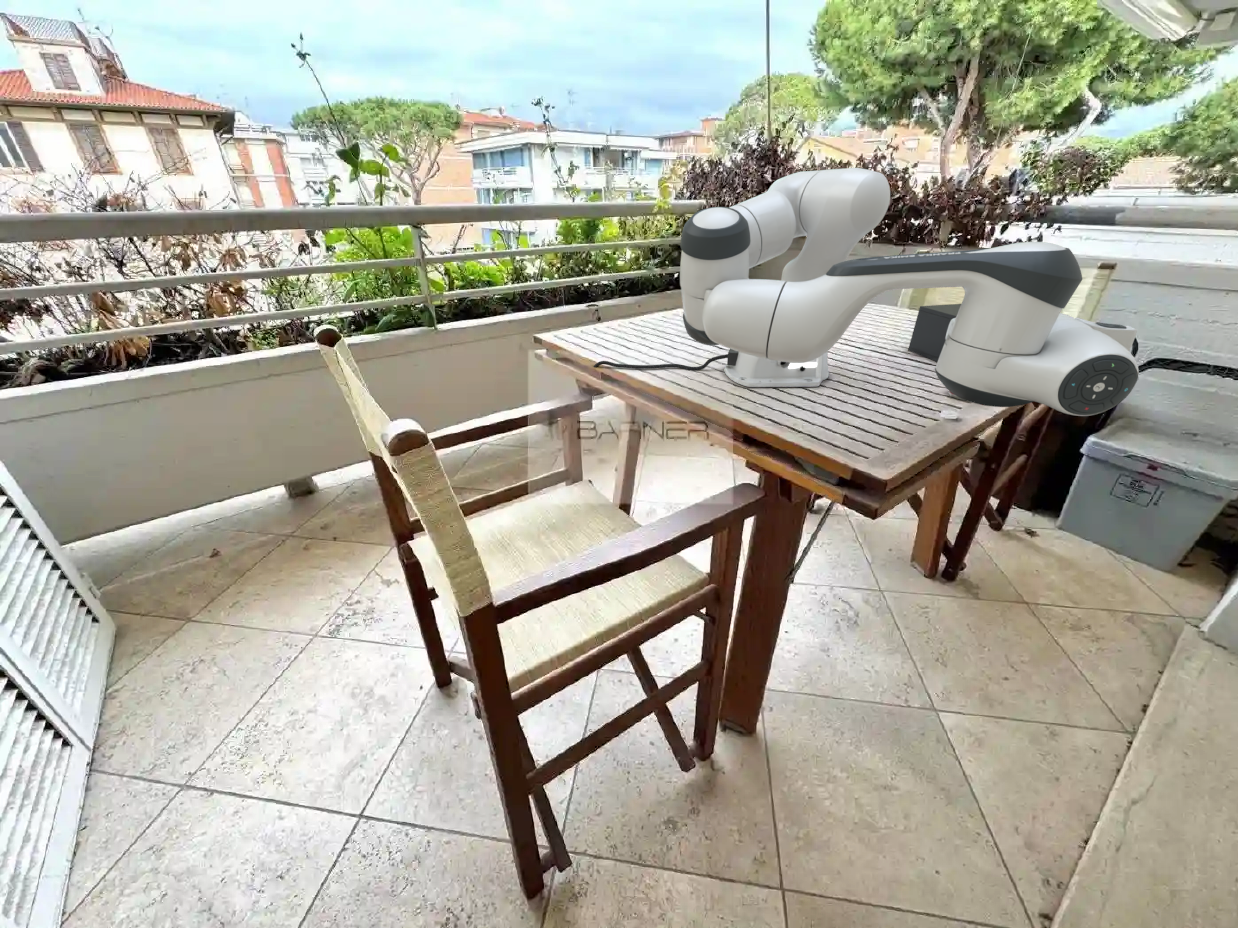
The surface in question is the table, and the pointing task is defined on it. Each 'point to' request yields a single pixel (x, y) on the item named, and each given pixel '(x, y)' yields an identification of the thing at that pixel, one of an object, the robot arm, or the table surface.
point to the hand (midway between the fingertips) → (1014, 325)
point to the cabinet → (932, 329)
